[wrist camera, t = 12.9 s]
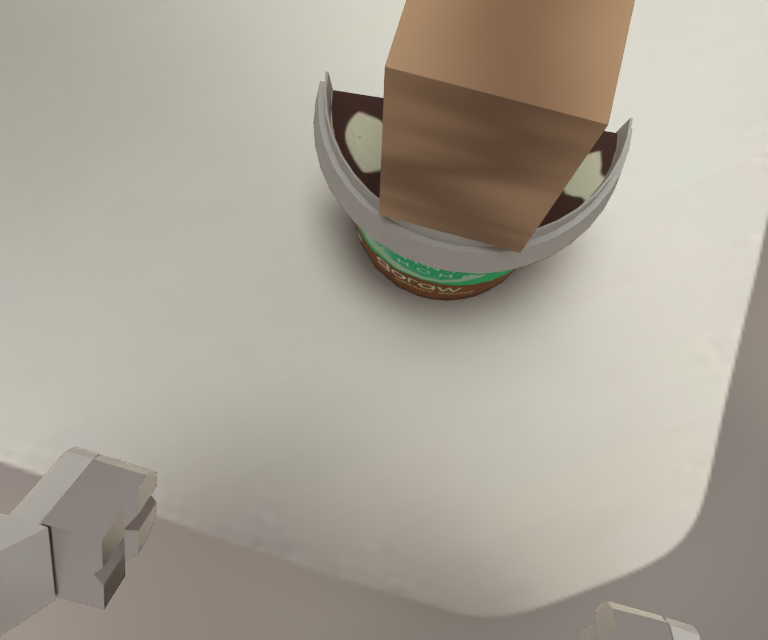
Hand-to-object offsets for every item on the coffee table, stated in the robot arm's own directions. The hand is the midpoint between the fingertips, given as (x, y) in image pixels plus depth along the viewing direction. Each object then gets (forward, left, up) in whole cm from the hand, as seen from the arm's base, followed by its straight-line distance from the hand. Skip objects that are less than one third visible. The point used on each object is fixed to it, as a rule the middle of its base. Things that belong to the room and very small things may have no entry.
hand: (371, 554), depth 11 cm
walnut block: (0, +12, -8) cm, 15 cm away
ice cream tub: (0, +12, -18) cm, 22 cm away
